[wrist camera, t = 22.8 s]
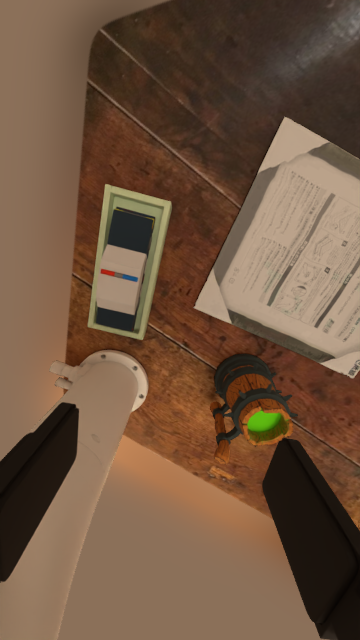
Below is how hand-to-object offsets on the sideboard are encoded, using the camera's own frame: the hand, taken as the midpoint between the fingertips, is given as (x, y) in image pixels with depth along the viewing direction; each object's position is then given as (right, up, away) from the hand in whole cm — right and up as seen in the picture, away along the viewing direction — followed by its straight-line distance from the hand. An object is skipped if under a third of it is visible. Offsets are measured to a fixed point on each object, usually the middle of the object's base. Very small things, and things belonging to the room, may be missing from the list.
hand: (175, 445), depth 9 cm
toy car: (-7, +13, +20) cm, 25 cm away
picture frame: (+21, +14, +19) cm, 32 cm away
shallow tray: (-7, +13, +20) cm, 25 cm away
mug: (+10, -5, +25) cm, 27 cm away
